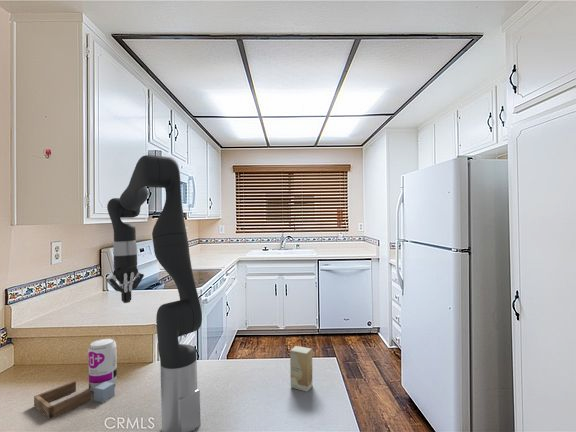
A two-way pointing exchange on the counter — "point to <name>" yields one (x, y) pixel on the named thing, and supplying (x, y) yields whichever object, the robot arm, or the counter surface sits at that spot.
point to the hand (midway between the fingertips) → (126, 302)
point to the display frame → (65, 405)
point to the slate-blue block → (104, 391)
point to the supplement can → (102, 362)
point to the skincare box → (301, 368)
